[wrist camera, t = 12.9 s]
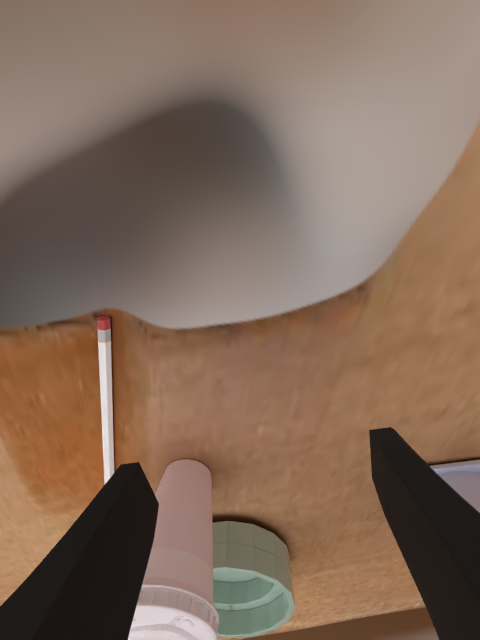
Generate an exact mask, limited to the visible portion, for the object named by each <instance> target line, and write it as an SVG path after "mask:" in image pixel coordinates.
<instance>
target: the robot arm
mask: <svg viewBox="0 0 480 640" xmlns="http://www.w3.org/2000/svg"><path fill="white" fill-rule="evenodd" d="M369 431H370V448H371V465H372V479H373V482H374V485H375V488H376V491H377V494H378V497H379V500H380V503H381V505H382V508H383V511H384V514H385V517H386V519H387V521H388V523H389V526H390V528H391V530H392V532H393V535H394V537H395V539H396V541H397V544H398V546H399V548H400V550H401V552H402V555H403V557H404V559H405V561H406V563H407V566H408V568H409V570H410V572H411V575H412V577H413V579H414V581H415V583H416V586H417V588H418V590H419V592H420V594H421V597H422V599H423V601H424V603H425V606H426V608H427V610H428V613H429V615H430V617H431V619H432V622H433V625H434V627H435V629H436V632H437V635H438V637H439V640H480V460H473V461H465V462H456V463H448V464H440V465H432V466H429V465H428V464H427V463H426V462H425V461H424V460H423V459H422V458H421V457H420V456H419V455H418V454H417V453H416V452H415V451H414V450H413V449H412V448H411V447H410V446H409V445H408V444H407V443H406V442H405V441H404V439H403V438H402V437H401V436H400V435H399V434H398V433H397V432H396V431H395V430H394V429H393V428H391V427H389V428H382V429H375V430H369ZM158 509H159V503H158V501H157V499H156V497H155V494H154V492H153V490H152V488H151V486H150V484H149V482H148V480H147V478H146V476H145V474H144V472H143V470H142V468H141V466H140V464H139V462H137V463H129V464H122V465H120V467H119V468H118V469H117V470H116V471H115V473H114V474H113V475H112V476H111V478H110V479H109V480H108V481H107V483H106V484H105V485H104V486H103V488H102V489H101V490H100V491H99V493H98V494H97V495H96V497H95V498H94V499H93V500H92V502H91V503H90V504H89V505H88V507H87V508H86V509H85V510H84V512H83V513H82V514H81V515H80V517H79V518H78V519H77V520H76V521H75V523H74V524H73V525H72V526H71V528H70V529H69V530H68V531H67V533H66V534H65V535H64V536H63V537H62V539H61V540H60V541H59V542H58V543H57V544H56V545H55V547H54V548H53V549H52V550H51V551H50V552H49V554H48V555H47V556H46V557H45V558H44V559H43V561H42V562H41V563H40V564H39V565H38V566H37V568H36V569H35V570H34V571H33V572H32V573H31V574H30V575H29V577H28V578H27V579H26V580H25V581H24V582H23V583H22V584H21V585H20V586H19V587H18V589H17V590H16V591H15V592H14V593H13V594H12V595H11V596H10V597H9V598H8V599H7V600H6V601H5V602H4V603H3V604H2V605H1V606H0V640H128V637H129V632H130V628H131V625H132V621H133V617H134V613H135V610H136V606H137V602H138V598H139V595H140V591H141V587H142V583H143V580H144V576H145V572H146V568H147V565H148V561H149V557H150V553H151V549H152V545H153V541H154V535H155V529H156V523H157V516H158Z"/></svg>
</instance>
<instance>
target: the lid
mask: <svg viewBox="0 0 480 640" xmlns="http://www.w3.org/2000/svg"><path fill="white" fill-rule="evenodd" d="M212 535H213V606H214V607H215V609H216V611H217V612H218V614H219V625H218V631H217V637H225V638H239V637H253V636H257V635H260V634H263V633H267V632H270V631H274V630H275V629H277V628H278V627H280V626H281V625H283V624H284V623H286V622H287V621H289V619H290V617H291V615H292V613H293V611H294V609H295V598H294V588H293V579H292V569H291V560H290V556H289V552H288V548H287V546H286V545H285V544H284V543H283V542H282V541H281V540H280V539H279V538H278V537H277V536H276V535H275V534H274V533H272V532H270V531H268V530H265V529H263V528H261V527H259V526H256V525H254V524H249V523H241V522H234V521H221V522H212Z"/></svg>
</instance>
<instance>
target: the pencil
mask: <svg viewBox="0 0 480 640" xmlns="http://www.w3.org/2000/svg"><path fill="white" fill-rule="evenodd" d="M97 329H98V351H99V373H100V395H101V417H102V439H103V461H104V483H105V484H106V483H107V481H108V480H109V479H110V478H111V476H112V475H113V474H114V443H113V404H112V365H111V326H110V317H109V316H99V317H97Z"/></svg>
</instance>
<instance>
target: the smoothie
mask: <svg viewBox="0 0 480 640" xmlns="http://www.w3.org/2000/svg"><path fill="white" fill-rule="evenodd" d="M155 497H156V499H157V501H158V503H159V509H158V516H157V523H156V529H155V535H154V541H153V545H152V549H151V553H150V557H149V561H148V565H147V568H146V572H145V576H144V580H143V583H142V587H141V591H140V595H139V598H138V602H137V606H136V610H135V613H134V617H133V621H132V625H131V628H130V632H129V637H128V640H217V631H218V625H219V614H218V612H217V611H216V609H215V607H214V606H213V535H212V476H211V472H210V470H209V469H208V468H207V467H206V466H205V465H204V464H202V463H200V462H198V461H195V460H191V459H181V460H177V461H174V462H172V463H171V464H169V465H168V466H167V468H166V470H165V472H164V475H163V477H162V479H161V482H160V484H159V486H158V489H157V491H156V493H155Z"/></svg>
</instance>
